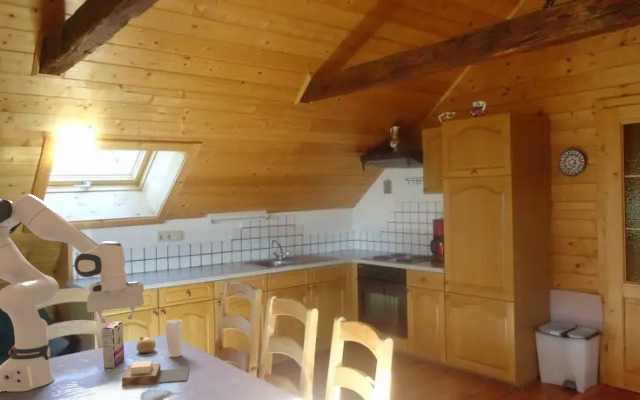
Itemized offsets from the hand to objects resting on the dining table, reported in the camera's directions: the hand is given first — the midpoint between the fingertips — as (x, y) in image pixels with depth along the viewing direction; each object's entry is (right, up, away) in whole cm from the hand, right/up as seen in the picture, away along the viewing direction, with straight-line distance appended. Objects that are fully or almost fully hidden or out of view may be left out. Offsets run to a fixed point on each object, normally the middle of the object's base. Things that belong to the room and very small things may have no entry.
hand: (117, 320), depth 214 cm
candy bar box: (-8, -22, +19) cm, 31 cm away
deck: (+9, -22, +1) cm, 24 cm away
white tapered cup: (+15, -21, +28) cm, 38 cm away
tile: (+9, -19, +1) cm, 21 cm away
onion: (0, -22, +35) cm, 41 cm away
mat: (+20, -22, +3) cm, 30 cm away
